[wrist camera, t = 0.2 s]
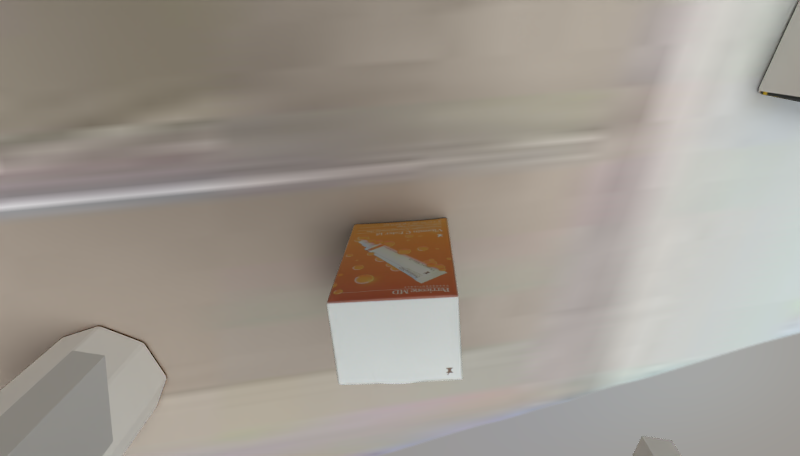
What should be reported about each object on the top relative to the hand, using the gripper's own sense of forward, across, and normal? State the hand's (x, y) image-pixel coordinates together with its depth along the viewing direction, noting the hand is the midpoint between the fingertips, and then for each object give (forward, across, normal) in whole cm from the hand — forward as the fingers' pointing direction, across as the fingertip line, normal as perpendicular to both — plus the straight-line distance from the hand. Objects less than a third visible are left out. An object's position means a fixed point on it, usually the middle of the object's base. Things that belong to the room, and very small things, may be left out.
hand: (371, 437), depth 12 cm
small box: (+28, +2, -8) cm, 29 cm away
